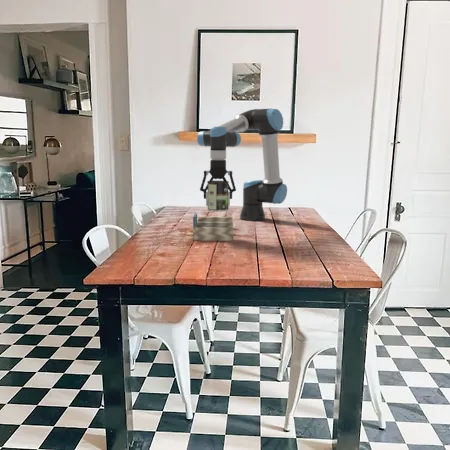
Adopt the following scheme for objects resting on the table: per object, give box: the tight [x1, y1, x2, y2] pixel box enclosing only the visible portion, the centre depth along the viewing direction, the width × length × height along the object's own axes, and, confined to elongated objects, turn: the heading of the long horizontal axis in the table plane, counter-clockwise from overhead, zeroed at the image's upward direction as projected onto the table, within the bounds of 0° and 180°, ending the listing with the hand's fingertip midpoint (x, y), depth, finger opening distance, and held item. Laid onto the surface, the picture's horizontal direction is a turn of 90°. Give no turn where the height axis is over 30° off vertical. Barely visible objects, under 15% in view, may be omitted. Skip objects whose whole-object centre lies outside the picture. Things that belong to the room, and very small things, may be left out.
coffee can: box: [206, 180, 230, 213], centre depth 227 cm, size 10×10×14 cm
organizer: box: [192, 212, 235, 242], centre depth 237 cm, size 19×32×11 cm, turn 0°
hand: (217, 205), depth 228 cm, fingers closed on coffee can, 10 cm apart
